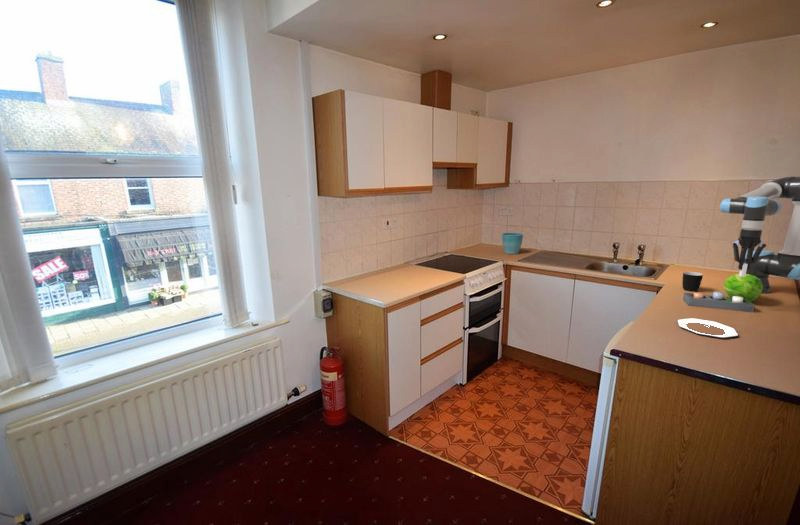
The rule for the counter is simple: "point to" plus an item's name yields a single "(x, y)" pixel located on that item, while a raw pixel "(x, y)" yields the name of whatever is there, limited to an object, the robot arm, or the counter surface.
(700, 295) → the key rust
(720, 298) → the key slate
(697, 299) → the panel
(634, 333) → the counter surface
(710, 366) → the counter surface
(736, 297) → the key ivory
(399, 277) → the counter surface
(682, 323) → the plate
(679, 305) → the counter surface
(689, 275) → the mug
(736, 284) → the lettuce
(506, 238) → the flower pot
